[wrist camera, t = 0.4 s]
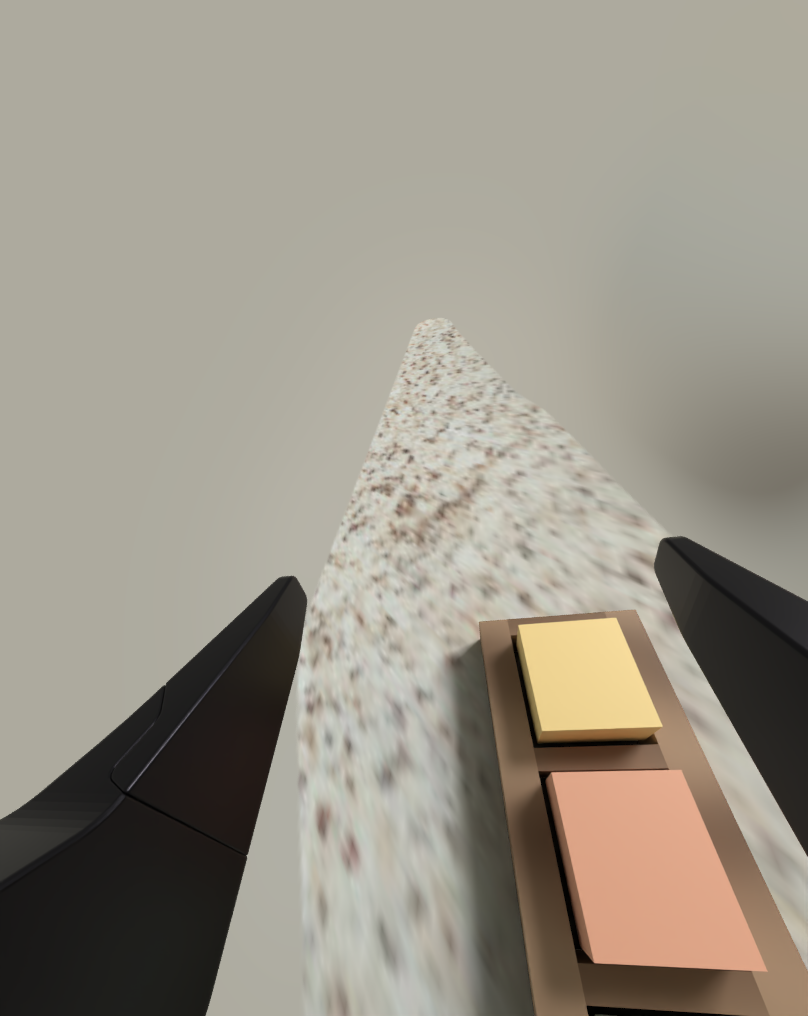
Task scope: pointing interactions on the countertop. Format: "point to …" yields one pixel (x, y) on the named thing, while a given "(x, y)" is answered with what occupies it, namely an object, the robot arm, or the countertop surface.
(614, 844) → the terracotta key
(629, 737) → the ochre key
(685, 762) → the brown wooden slotted tray
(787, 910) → the countertop surface
